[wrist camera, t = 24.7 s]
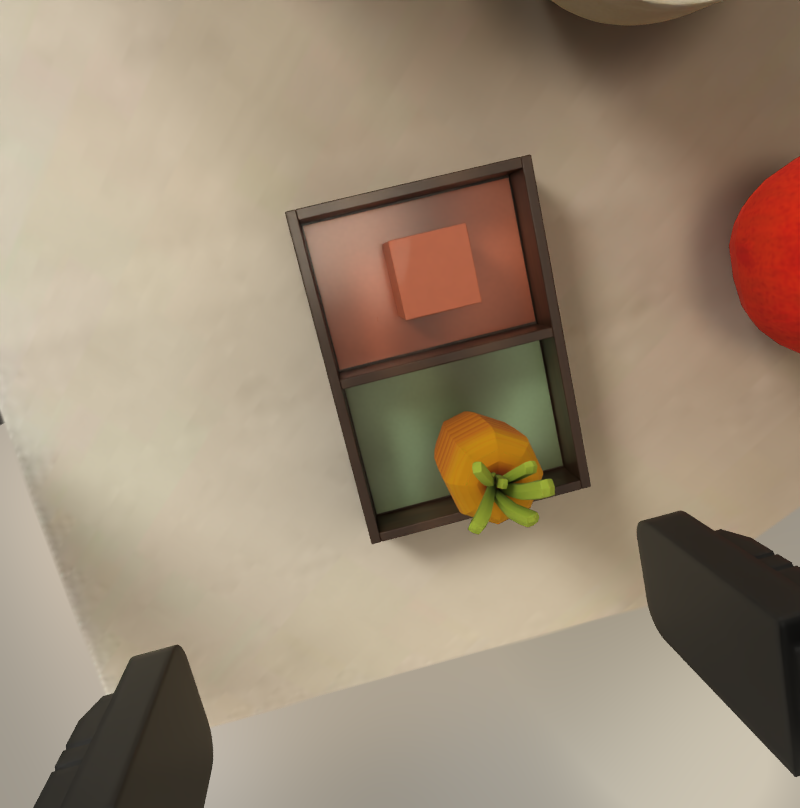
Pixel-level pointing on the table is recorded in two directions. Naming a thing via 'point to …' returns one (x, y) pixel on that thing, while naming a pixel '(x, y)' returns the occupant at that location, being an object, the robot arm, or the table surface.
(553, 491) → the carrot
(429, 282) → the terracotta block
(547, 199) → the table surface
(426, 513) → the sorting tray
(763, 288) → the apple
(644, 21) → the planter bowl
